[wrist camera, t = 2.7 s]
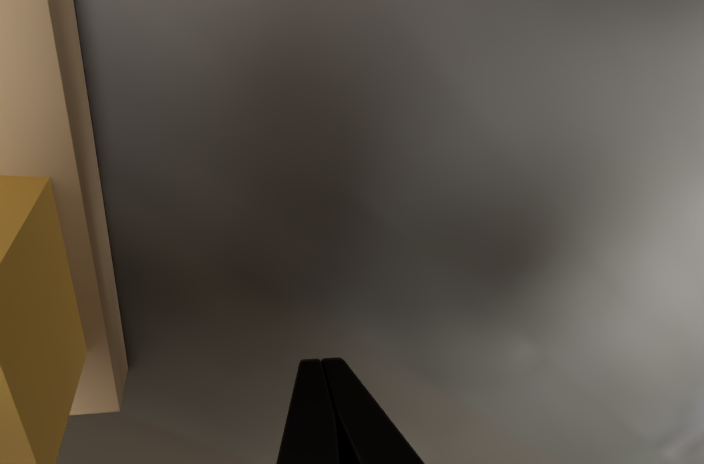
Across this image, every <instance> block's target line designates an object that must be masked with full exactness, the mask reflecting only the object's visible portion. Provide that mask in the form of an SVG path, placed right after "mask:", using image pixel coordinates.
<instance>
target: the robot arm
mask: <svg viewBox="0 0 704 464" xmlns="http://www.w3.org/2000/svg"><path fill="white" fill-rule="evenodd" d="M276 464H425V463H424V462H423V461H422V460H421V458H420V457H419V456H418V454H417V453H416V452H415V451H414V449H413V448H412V447H411V445H410V444H409V443H408V442H407V440H406V439H405V438H404V437H403V435H402V434H401V433H400V431H399V430H398V429H397V428H396V426H395V425H394V424H393V422H392V421H391V420H390V419H389V417H388V416H387V415H386V413H385V412H384V411H383V410H382V408H381V407H380V406H379V404H378V403H377V402H376V401H375V399H374V398H373V397H372V395H371V394H370V393H369V392H368V390H367V389H366V388H365V386H364V385H363V384H362V383H361V381H360V380H359V379H358V378H357V376H356V375H355V374H354V372H353V371H352V370H351V369H350V367H349V366H348V365H347V363H346V362H345V361H344V360H343V359H342V358H324V359H322V360H321V361H320V360H319V359H303V360H301V361H300V363H299V367H298V371H297V375H296V380H295V384H294V389H293V393H292V397H291V402H290V406H289V411H288V415H287V419H286V424H285V428H284V432H283V437H282V441H281V446H280V450H279V454H278V459H277V463H276Z"/></svg>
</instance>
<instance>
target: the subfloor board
mask: <svg viewBox="0 0 704 464" xmlns="http://www.w3.org/2000/svg"><path fill="white" fill-rule="evenodd" d="M0 175H5V176H33V177H50V180H51V185H52V189H53V194H54V199H55V203H56V208H57V213H58V217H59V222H60V227H61V231H62V236H63V241H64V245H65V250H66V255H67V259H68V264H69V269H70V274H71V278H72V283H73V288H74V292H75V297H76V302H77V306H78V311H79V316H80V320H81V325H82V330H83V334H84V339H85V344H86V348H87V355H86V359H85V362H84V366H83V369H82V373H81V376H80V380H79V383H78V387H77V390H76V394H75V397H74V401H73V404H72V408H71V411H70V415H80V414H93V413H106V412H118V411H120V408H121V403H122V398H123V392H124V387H125V382H126V377H127V372H128V365H127V358H126V351H125V344H124V338H123V331H122V324H121V318H120V311H119V304H118V297H117V291H116V284H115V277H114V270H113V264H112V257H111V250H110V243H109V237H108V230H107V223H106V217H105V210H104V203H103V196H102V190H101V183H100V176H99V169H98V163H97V156H96V149H95V142H94V136H93V129H92V122H91V116H90V109H89V102H88V95H87V89H86V82H85V75H84V68H83V62H82V55H81V48H80V41H79V35H78V28H77V21H76V15H75V8H74V1H73V0H0Z"/></svg>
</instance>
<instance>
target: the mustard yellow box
mask: <svg viewBox="0 0 704 464" xmlns="http://www.w3.org/2000/svg"><path fill="white" fill-rule="evenodd" d="M86 355H87V348H86V344H85V339H84V334H83V330H82V325H81V320H80V316H79V311H78V306H77V302H76V297H75V292H74V288H73V283H72V278H71V274H70V269H69V264H68V259H67V255H66V250H65V245H64V241H63V236H62V231H61V227H60V222H59V217H58V213H57V208H56V203H55V199H54V194H53V189H52V185H51V180H50V177H33V176H5V175H0V464H56V460H57V457H58V453H59V450H60V446H61V443H62V439H63V436H64V432H65V429H66V425H67V422H68V418H69V415H70V411H71V408H72V404H73V401H74V397H75V394H76V390H77V387H78V383H79V380H80V376H81V373H82V369H83V366H84V362H85V359H86Z"/></svg>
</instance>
